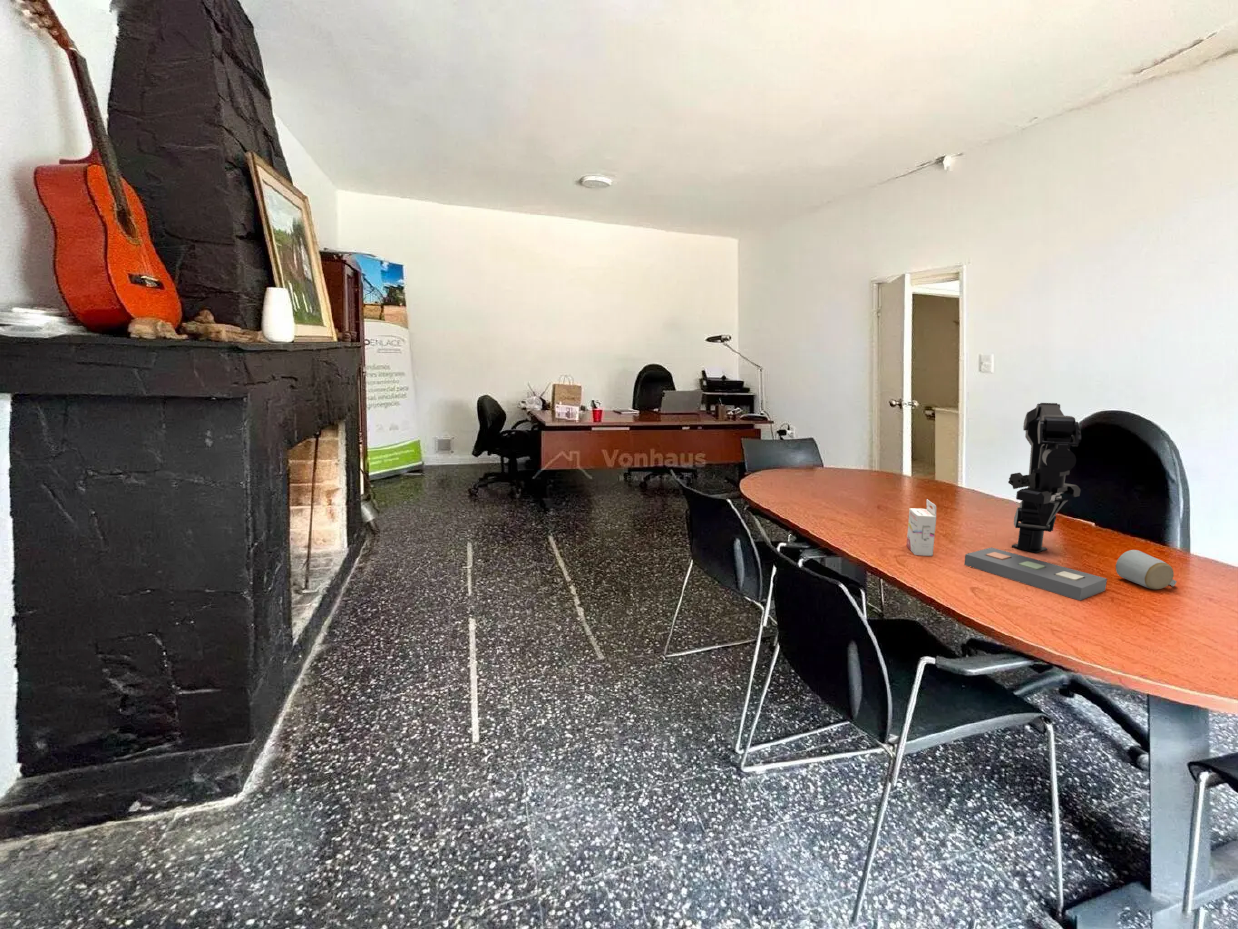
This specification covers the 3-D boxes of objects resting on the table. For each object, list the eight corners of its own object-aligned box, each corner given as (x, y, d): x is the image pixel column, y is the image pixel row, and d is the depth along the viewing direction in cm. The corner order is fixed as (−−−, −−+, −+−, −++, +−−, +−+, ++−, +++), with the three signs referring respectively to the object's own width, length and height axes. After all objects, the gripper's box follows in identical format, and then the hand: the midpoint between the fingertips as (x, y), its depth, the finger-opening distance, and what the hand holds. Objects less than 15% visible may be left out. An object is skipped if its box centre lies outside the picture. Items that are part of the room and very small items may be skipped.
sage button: (1026, 570, 142) (1027, 561, 141) (1043, 575, 138) (1045, 565, 138) (1017, 573, 140) (1018, 563, 140) (1035, 578, 137) (1036, 568, 136)
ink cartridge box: (905, 545, 164) (909, 497, 161) (923, 546, 163) (927, 498, 160) (914, 555, 156) (919, 504, 153) (933, 556, 155) (938, 505, 152)
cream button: (1062, 580, 135) (1063, 571, 134) (1082, 586, 131) (1083, 576, 131) (1053, 583, 133) (1055, 573, 133) (1073, 589, 130) (1075, 579, 129)
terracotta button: (993, 560, 149) (994, 551, 148) (1009, 565, 145) (1010, 556, 145) (984, 563, 147) (985, 554, 147) (1000, 568, 144) (1002, 558, 143)
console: (990, 557, 153) (991, 547, 153) (1105, 590, 131) (1107, 578, 130) (964, 564, 148) (965, 554, 147) (1079, 600, 125) (1081, 588, 125)
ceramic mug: (1145, 591, 130) (1151, 560, 129) (1112, 578, 138) (1117, 549, 137) (1186, 591, 131) (1193, 560, 129) (1152, 578, 139) (1157, 549, 137)
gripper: (1036, 458, 151) (1029, 513, 154) (997, 464, 143) (990, 522, 145) (1085, 464, 141) (1076, 523, 144) (1046, 471, 133) (1038, 533, 136)
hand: (1044, 525), depth 143 cm, fingers closed
